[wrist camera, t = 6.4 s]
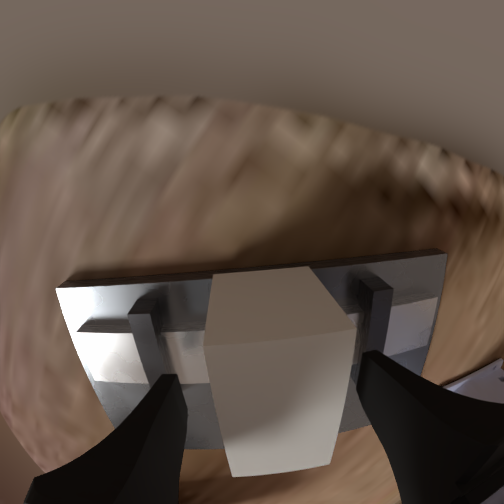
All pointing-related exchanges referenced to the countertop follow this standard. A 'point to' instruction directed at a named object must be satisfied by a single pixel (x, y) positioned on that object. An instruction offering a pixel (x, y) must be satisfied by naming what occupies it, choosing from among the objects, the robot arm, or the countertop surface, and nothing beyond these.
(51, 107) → the countertop surface
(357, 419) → the rail board
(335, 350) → the block
